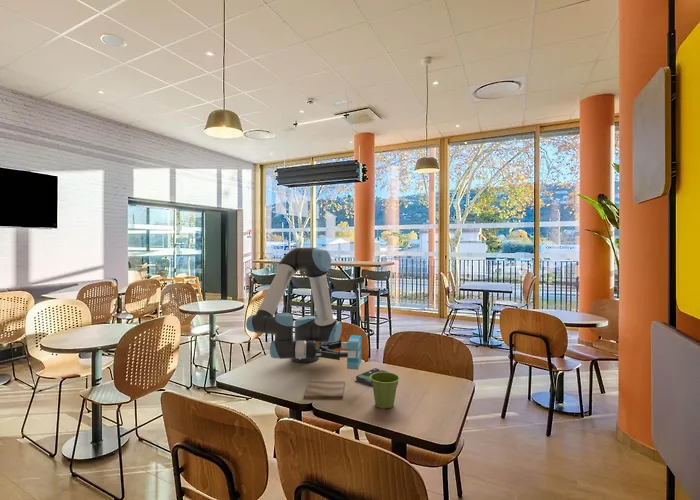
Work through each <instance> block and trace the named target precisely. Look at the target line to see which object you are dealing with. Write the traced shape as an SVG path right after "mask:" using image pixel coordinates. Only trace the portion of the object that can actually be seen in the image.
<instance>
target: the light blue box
mask: <svg viewBox="0 0 700 500" xmlns="http://www.w3.org/2000/svg"><path fill="white" fill-rule="evenodd" d="M362 338H363V337H362V335H356V334H354V335H352V334H351V335H350V337H349V339H348V341H347V342H348V343H347V349H346V351H356V358H346V369H347V370H357V371H358V370H359V368H360V365H361V363H362V341H363V340H362Z"/></svg>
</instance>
